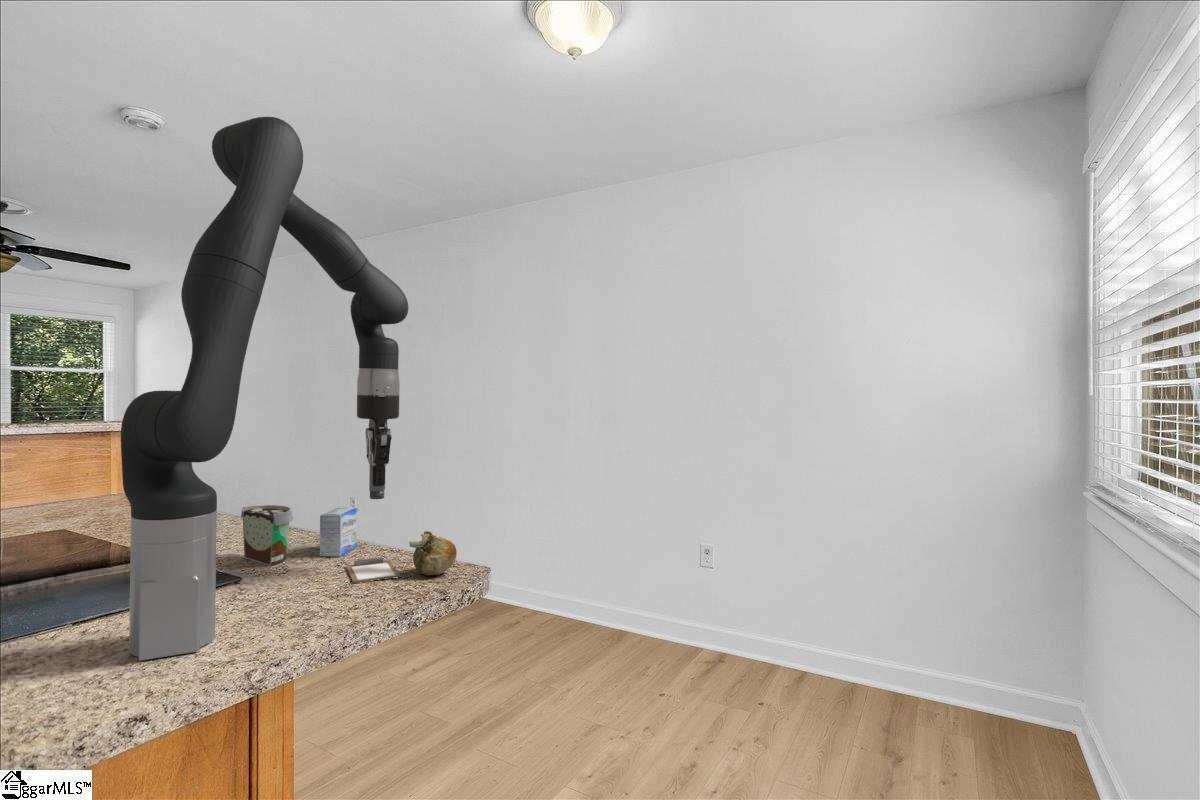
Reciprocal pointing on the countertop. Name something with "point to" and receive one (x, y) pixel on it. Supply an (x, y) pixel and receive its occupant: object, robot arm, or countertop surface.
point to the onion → (433, 554)
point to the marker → (374, 491)
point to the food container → (266, 533)
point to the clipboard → (371, 570)
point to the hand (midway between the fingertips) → (377, 484)
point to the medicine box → (338, 532)
